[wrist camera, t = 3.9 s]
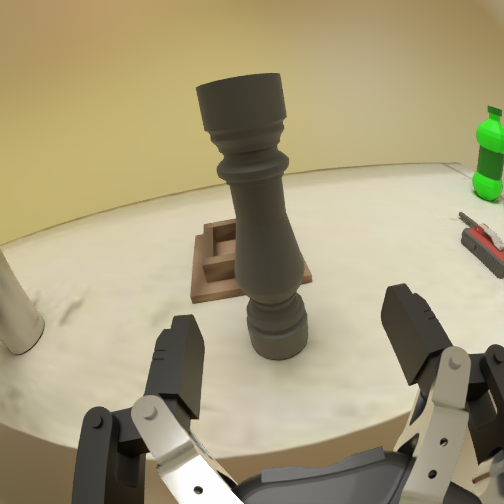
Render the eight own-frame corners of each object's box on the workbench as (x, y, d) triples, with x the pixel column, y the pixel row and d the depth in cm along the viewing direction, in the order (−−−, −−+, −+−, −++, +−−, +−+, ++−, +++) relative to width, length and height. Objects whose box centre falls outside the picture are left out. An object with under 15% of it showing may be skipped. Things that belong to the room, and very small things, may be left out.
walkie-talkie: (523, 273, 28) (461, 218, 44) (532, 252, 25) (465, 199, 42) (502, 286, 27) (435, 223, 44) (512, 263, 25) (439, 203, 42)
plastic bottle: (475, 200, 49) (485, 104, 35) (466, 186, 57) (473, 101, 43) (504, 208, 45) (517, 115, 31) (493, 192, 53) (502, 110, 39)
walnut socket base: (192, 303, 35) (184, 279, 33) (197, 241, 48) (191, 220, 46) (311, 281, 36) (311, 256, 33) (284, 225, 49) (283, 204, 47)
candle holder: (240, 338, 30) (176, 93, 16) (280, 308, 32) (244, 82, 19) (278, 370, 25) (226, 76, 12) (319, 333, 28) (303, 72, 15)
